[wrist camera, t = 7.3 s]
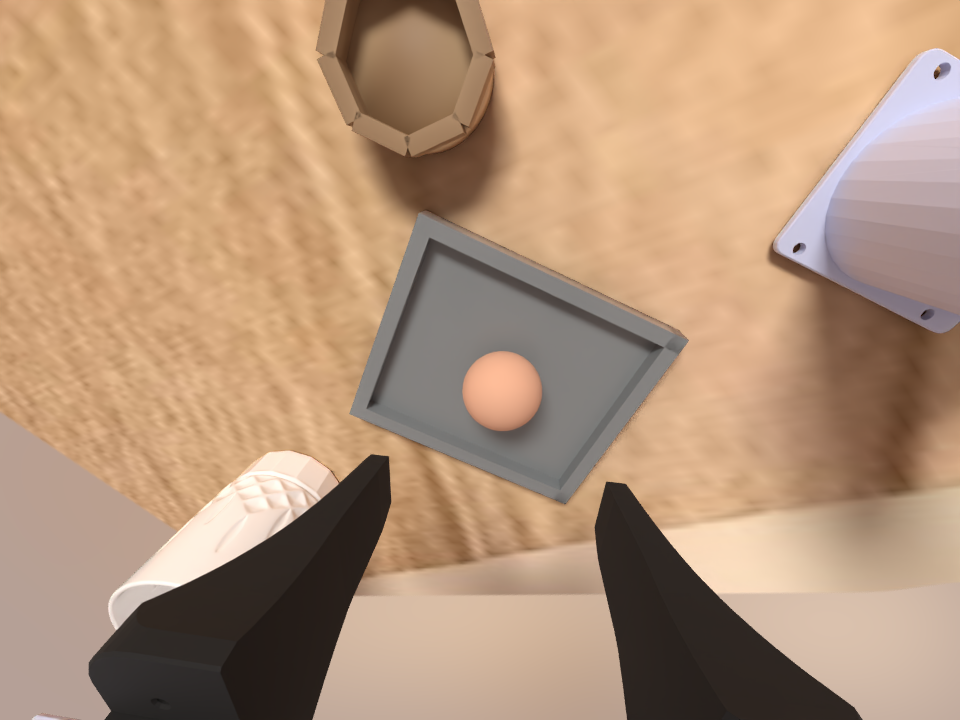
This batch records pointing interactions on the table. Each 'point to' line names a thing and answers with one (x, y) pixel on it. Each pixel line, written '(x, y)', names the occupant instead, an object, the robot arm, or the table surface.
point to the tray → (514, 328)
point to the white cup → (228, 526)
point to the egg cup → (408, 70)
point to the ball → (502, 391)
